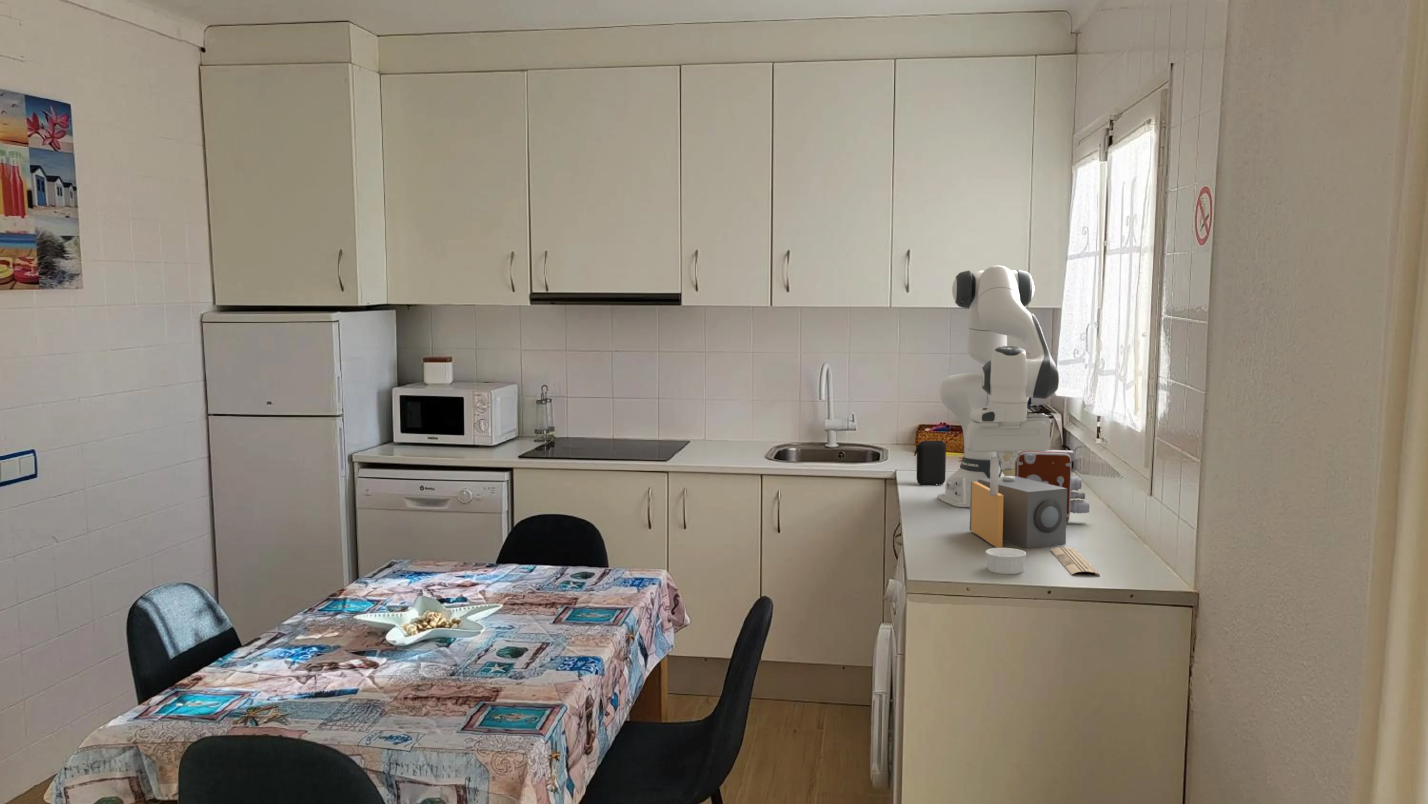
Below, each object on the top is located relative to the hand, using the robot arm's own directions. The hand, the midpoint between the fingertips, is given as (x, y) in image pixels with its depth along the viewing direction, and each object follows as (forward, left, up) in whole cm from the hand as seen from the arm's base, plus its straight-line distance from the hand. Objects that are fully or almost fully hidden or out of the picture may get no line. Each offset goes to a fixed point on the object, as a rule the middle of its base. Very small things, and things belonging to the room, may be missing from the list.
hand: (1006, 469), depth 262 cm
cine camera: (-19, +30, -20) cm, 40 cm away
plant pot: (-73, +58, -20) cm, 95 cm away
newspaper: (+19, +4, -20) cm, 28 cm away
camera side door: (-8, -1, -19) cm, 20 cm away
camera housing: (-7, +10, -19) cm, 23 cm away
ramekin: (+18, -14, -20) cm, 30 cm away
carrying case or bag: (-80, +32, -20) cm, 89 cm away
